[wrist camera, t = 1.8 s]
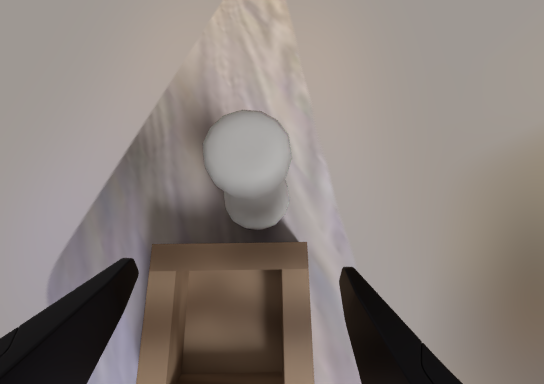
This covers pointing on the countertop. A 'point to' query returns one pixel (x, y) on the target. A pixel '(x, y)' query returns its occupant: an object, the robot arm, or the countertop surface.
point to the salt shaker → (250, 167)
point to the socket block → (227, 315)
